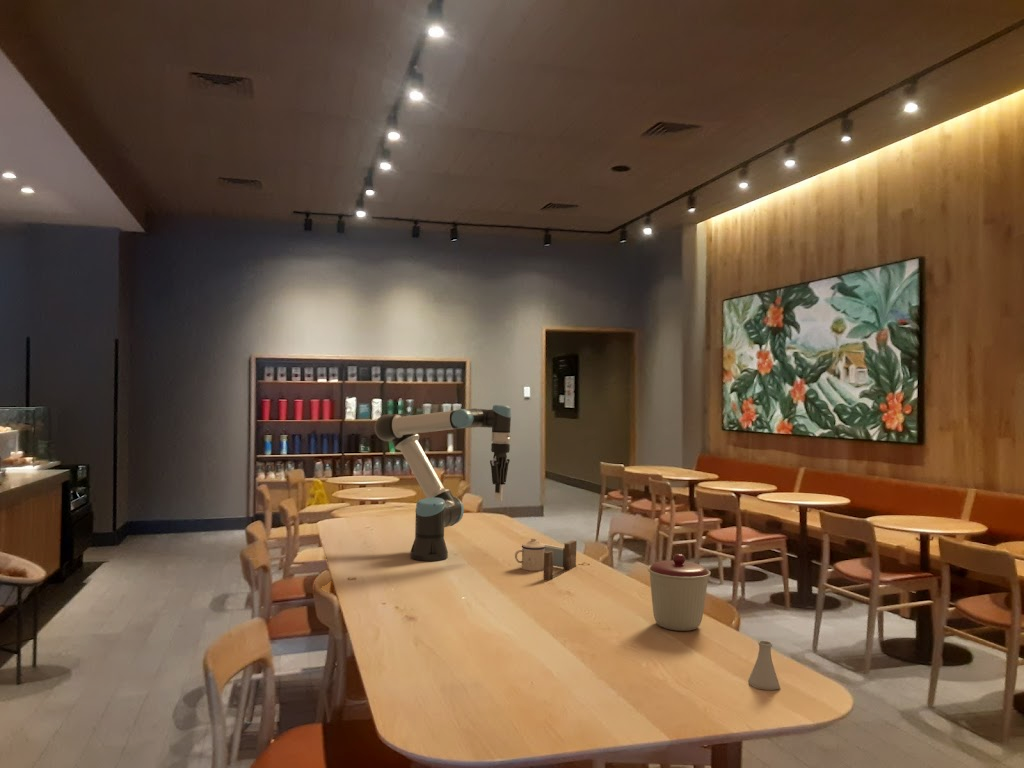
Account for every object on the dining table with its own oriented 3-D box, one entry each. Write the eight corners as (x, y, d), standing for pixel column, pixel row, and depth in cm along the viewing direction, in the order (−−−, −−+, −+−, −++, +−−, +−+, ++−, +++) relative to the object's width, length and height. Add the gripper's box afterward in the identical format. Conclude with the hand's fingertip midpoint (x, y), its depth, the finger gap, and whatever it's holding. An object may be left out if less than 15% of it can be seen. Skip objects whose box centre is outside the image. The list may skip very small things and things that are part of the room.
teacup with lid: (539, 565, 299) (540, 535, 299) (548, 570, 291) (549, 540, 291) (510, 566, 295) (511, 536, 296) (518, 572, 287) (519, 541, 287)
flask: (743, 679, 182) (744, 637, 182) (772, 679, 182) (773, 637, 182) (754, 691, 175) (756, 647, 175) (785, 691, 175) (786, 647, 175)
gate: (564, 567, 295) (565, 547, 295) (562, 567, 294) (563, 548, 294) (536, 561, 304) (536, 542, 304) (534, 561, 303) (534, 542, 303)
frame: (542, 580, 275) (543, 552, 276) (570, 565, 300) (571, 540, 300) (549, 580, 274) (549, 553, 274) (576, 566, 299) (577, 541, 299)
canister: (673, 639, 211) (674, 562, 212) (633, 621, 227) (635, 550, 228) (722, 631, 220) (724, 557, 220) (681, 614, 236) (682, 546, 236)
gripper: (501, 444, 304) (498, 503, 304) (516, 442, 316) (514, 499, 316) (484, 442, 308) (482, 501, 308) (500, 441, 319) (498, 497, 319)
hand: (498, 500), depth 312 cm, fingers closed
